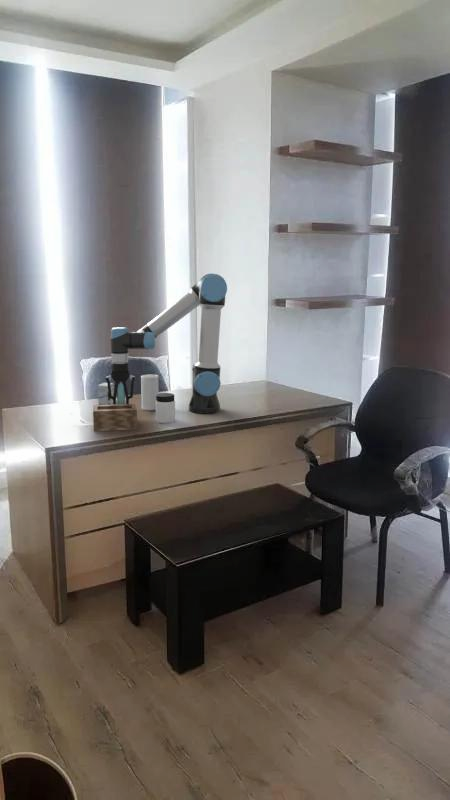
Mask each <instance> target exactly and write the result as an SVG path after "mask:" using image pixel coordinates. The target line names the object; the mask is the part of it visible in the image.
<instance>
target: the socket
mask: <svg viewBox="0 0 450 800" xmlns="http://www.w3.org/2000/svg"><path fill="white" fill-rule="evenodd" d="M92 410H93V411H92V414H93V415H92V417H93V420H92V421H93V432H106V431H107V432H108V431H130V430H132V431H133V430H138V410H137V405H136V403H129V404H108V405H99V404H92Z"/></svg>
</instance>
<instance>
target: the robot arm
mask: <svg viewBox="0 0 450 800" xmlns="http://www.w3.org/2000/svg"><path fill="white" fill-rule="evenodd" d="M227 292H228V284H227V282H226V280H225V279H224V277H222V276H221V275H220V274H217V273H207V274H204V275H203V276H202V277H200V279H199V280H198V281H197V282H196V283H195V284H193V286H192V287H190V290H189V292H187V293H185V295H183V296H182V297H181V298H179V299H178V300H176V302H174V303H172V305H170V306H169V307H167V308H166V309H165V310H163V311H162V312H161V313H160V314H159V315H157V316H156V317H154V318H153V319H152V320H151V321H148V323H147V324H145V325H144V326H142V328H139V329H138V330H136V332H135V331H132V332H131V331H129V329H128V328H127V327H125V326H123V327H121V326H119V327H112V328H111V329H110V350H111V352H110V353H111V355H110V356H111V357H110V359H111V362H112V363H111V373H110V375H108V376H105V380H106V383H107V384H108V393H109V398H110V399H113V404H118V401H117V387H118V383H123V385H124V390H125V404H130V401H129V400H130V399H133V398H134V397H133V396H134V385H135V384H134V383H135V380H136V376H134V375H131V374H130V371H129V370H130V369H129V366H130V365H129V350H154V349H155V348H156V338H157V337H159V336H161V334H163V333H164V332H166V331H167V330H168V329H170V328H171V327H172V326H174V325H175V324H177V322H179V321H180V320H181V319H183V318H184V317H186V316H187V315H188V314H190V313H191V312H192V311H194V309H196V308H197V307H201V317H200V332H199V348H198V361H197V362H194V363H193V364H192V368H191V370H192V395H191V398H190V400H189V404H188V411H189V412H192V413H196V414H213V413H218V412H220V411H221V404H220V400H219V398H218V393H217V392H218V391H219V390H220V388H221V384H222V383H221V365H220V364H219V363H218V358H219V342H220V330H221V328H220V327H221V317H222V315H221V313H222V309H223V308H224V307H225V304H226V294H227ZM112 380H113V381H114V386H113V388H114V394H113V396H112V395H111V386H110V383H111V381H112ZM127 380H129V381H130V388H129V393H128V387H127Z"/></svg>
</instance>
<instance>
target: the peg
mask: <svg viewBox="0 0 450 800" xmlns="http://www.w3.org/2000/svg"><path fill="white" fill-rule="evenodd" d="M116 399H117V401H118V404H125V399H126V396H125V390H124V385H123V383H118V387H117V394H116Z"/></svg>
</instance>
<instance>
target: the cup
mask: <svg viewBox="0 0 450 800" xmlns="http://www.w3.org/2000/svg"><path fill="white" fill-rule="evenodd" d="M140 386H141V387H140V391H141V394H140V395H141V396H140V397H141V398H140V399H141V401H140V402H141V410H144V411H156V395H157V394H159V375H158V374H149V373H148V374H142V375H141V376H140Z"/></svg>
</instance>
